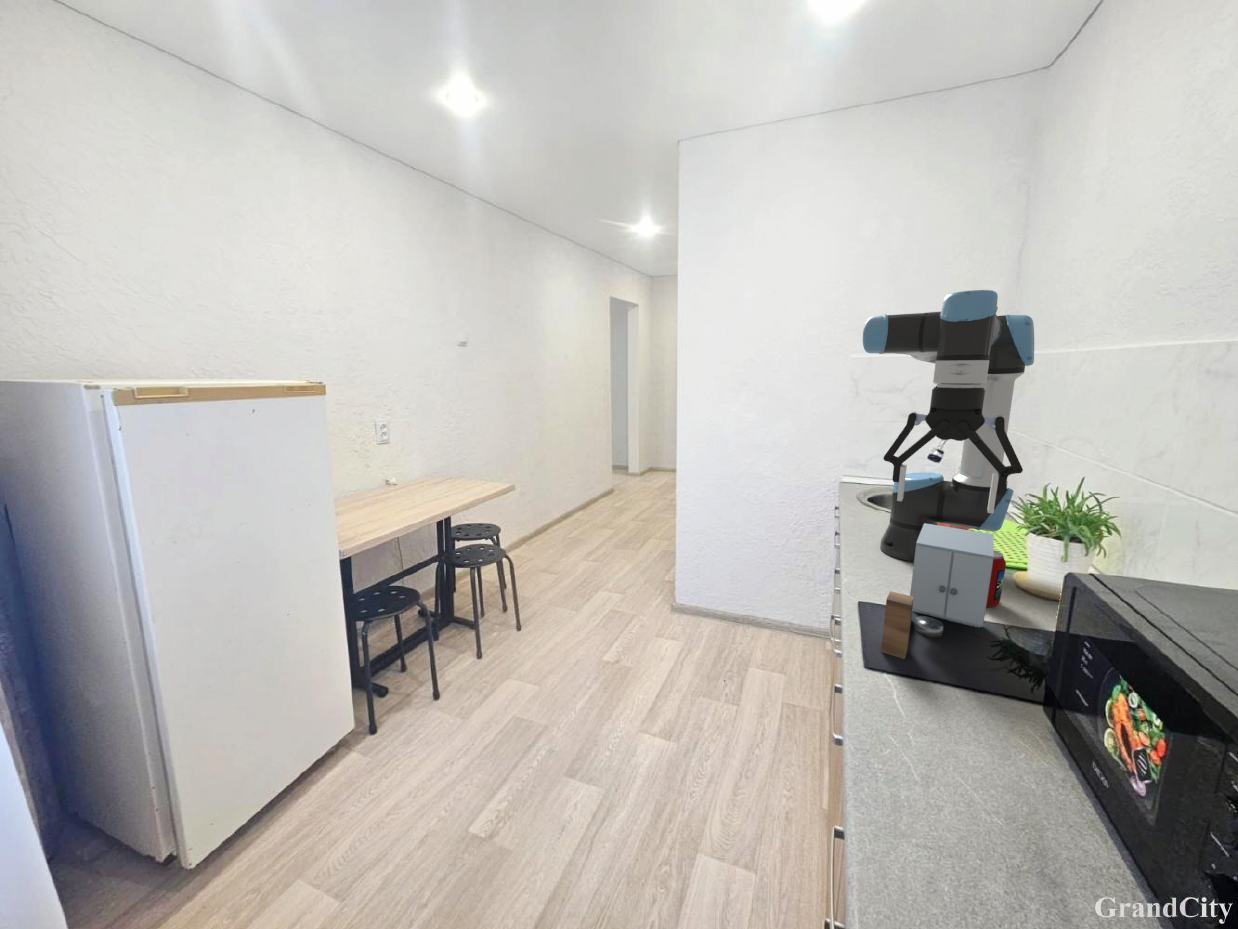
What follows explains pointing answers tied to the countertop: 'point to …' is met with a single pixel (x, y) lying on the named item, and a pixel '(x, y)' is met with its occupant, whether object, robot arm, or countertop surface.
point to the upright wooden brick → (897, 624)
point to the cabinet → (952, 574)
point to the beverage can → (996, 579)
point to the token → (928, 626)
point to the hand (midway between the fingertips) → (943, 505)
